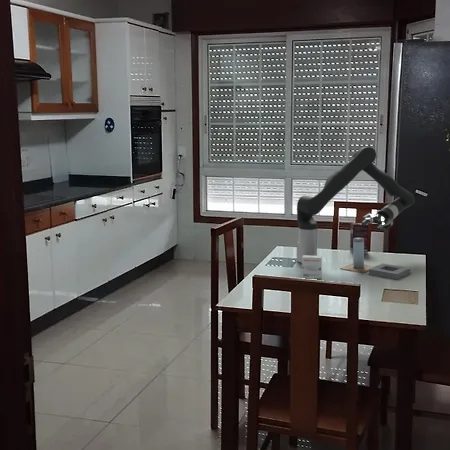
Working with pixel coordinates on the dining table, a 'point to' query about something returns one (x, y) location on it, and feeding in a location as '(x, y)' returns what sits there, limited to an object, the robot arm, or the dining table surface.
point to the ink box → (312, 267)
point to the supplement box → (359, 235)
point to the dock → (389, 271)
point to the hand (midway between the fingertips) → (369, 227)
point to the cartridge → (358, 252)
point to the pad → (360, 270)
